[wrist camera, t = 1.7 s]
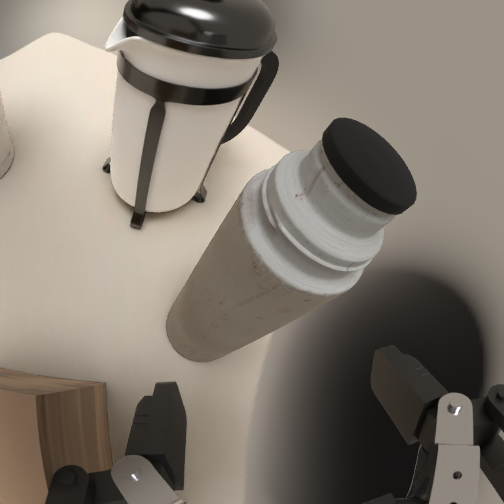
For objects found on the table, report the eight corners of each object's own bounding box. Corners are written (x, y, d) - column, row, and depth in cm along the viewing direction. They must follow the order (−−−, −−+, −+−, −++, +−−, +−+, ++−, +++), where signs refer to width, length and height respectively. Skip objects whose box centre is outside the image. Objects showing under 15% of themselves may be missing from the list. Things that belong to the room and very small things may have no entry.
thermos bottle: (229, 295, 37) (399, 124, 15) (237, 360, 34) (462, 246, 11) (164, 294, 34) (280, 71, 12) (168, 363, 30) (338, 224, 8)
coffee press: (193, 253, 38) (333, 31, 12) (79, 206, 34) (80, -43, 9) (229, 158, 46) (331, -11, 21) (137, 121, 42) (188, -62, 17)
